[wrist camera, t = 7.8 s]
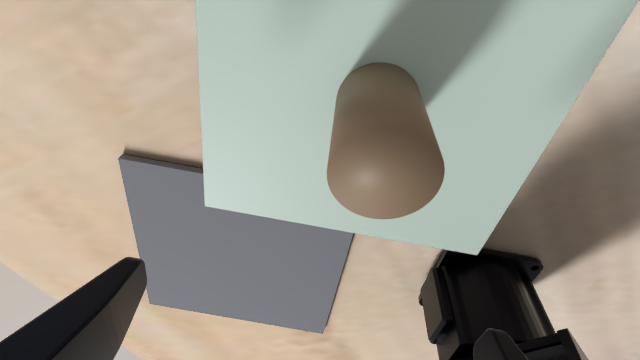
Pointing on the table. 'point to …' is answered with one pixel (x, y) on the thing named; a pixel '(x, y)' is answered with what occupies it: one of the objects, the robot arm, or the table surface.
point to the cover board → (463, 88)
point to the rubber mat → (228, 252)
